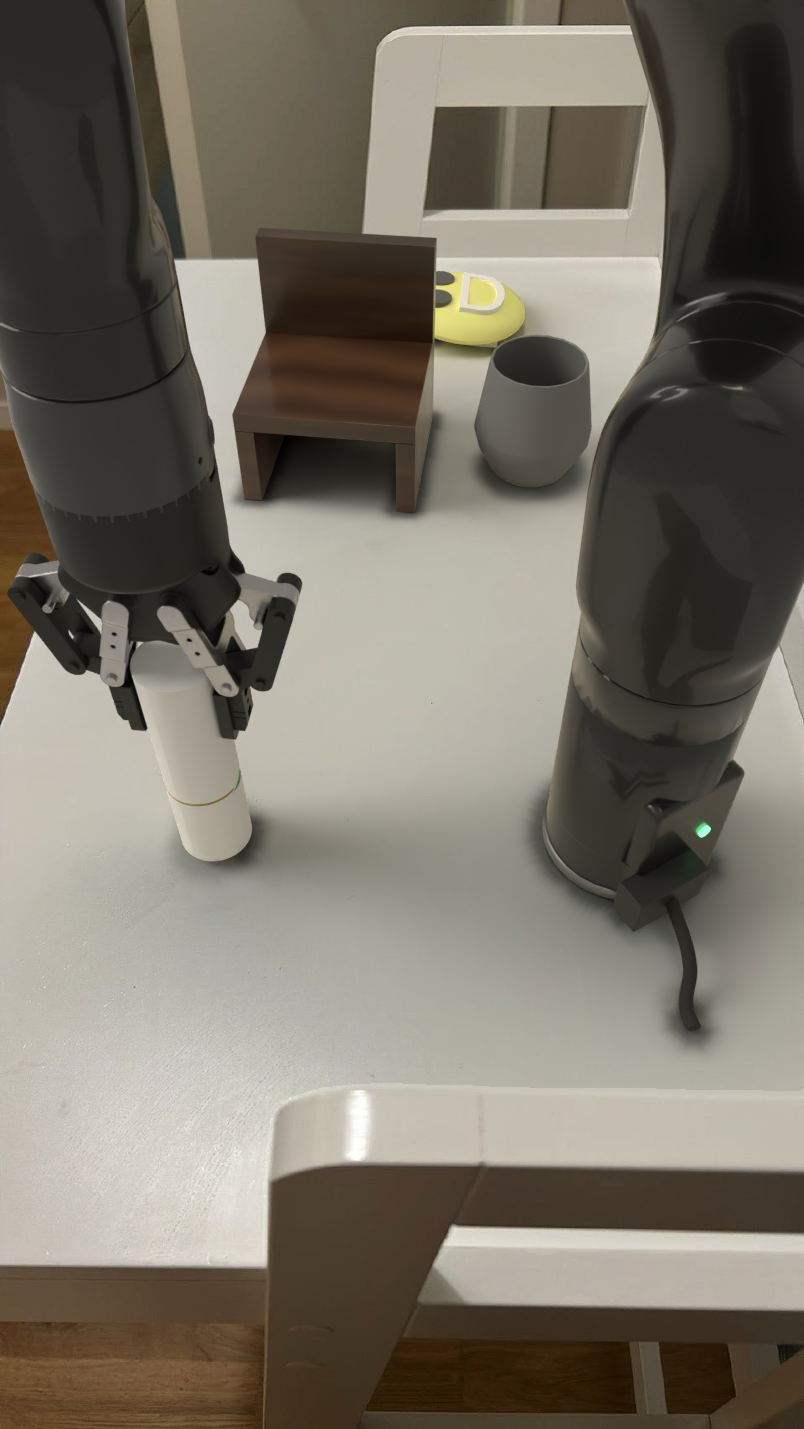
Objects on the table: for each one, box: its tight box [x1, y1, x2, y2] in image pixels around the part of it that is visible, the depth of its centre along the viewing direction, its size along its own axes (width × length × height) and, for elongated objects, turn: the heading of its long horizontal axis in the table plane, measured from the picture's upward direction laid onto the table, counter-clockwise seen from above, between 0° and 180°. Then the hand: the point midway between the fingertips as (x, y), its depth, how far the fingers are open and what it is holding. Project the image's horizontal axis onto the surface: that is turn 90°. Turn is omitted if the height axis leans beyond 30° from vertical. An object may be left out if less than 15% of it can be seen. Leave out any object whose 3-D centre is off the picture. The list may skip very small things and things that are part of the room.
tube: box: [130, 641, 253, 862], centre depth 58 cm, size 4×4×15 cm
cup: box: [473, 334, 593, 489], centre depth 84 cm, size 10×9×10 cm
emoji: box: [435, 270, 526, 349], centre depth 101 cm, size 4×12×12 cm
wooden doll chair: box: [231, 227, 438, 513], centre depth 83 cm, size 14×14×16 cm
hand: (189, 721), depth 56 cm, fingers closed on tube, 4 cm apart
